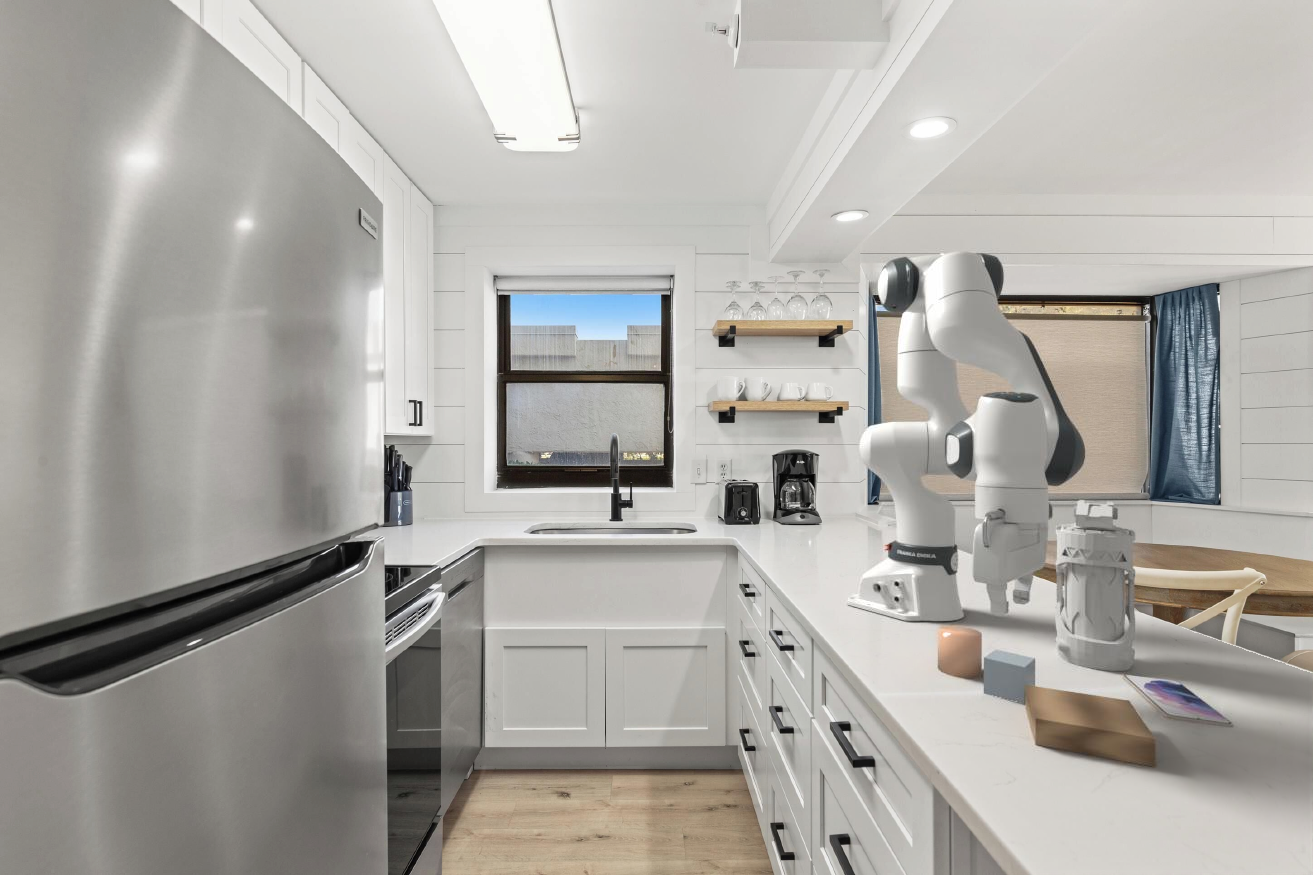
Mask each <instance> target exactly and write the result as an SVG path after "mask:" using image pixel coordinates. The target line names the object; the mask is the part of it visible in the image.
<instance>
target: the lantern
mask: <svg viewBox="0 0 1313 875" xmlns="http://www.w3.org/2000/svg"><path fill="white" fill-rule="evenodd" d="M1090 502H1093V500H1090V499H1089V500H1088V499H1087V500H1086V499H1079V500H1078V501H1077V502H1076V505H1074V507H1073V516H1074V518H1075V522H1074V523H1069V524H1067V523H1065V524H1058V525H1056V526H1055V535H1056V560H1055V569H1056V571H1055V572H1056V573H1055V574H1056V604H1055V629H1056V633H1057V636H1056V637H1055V646H1056V651H1057V654H1058V656H1059V658H1061V659H1062V660H1064V661H1066V662H1068V663H1071V664H1074V665H1077V666H1080V667H1084V668H1089V669H1093V670H1100V671H1109V672H1123V671H1129V670H1130V669H1132V666H1133V663H1134V661H1135V657H1136V656H1135V654H1136V650H1135V649H1134V648H1133V644H1134V641H1135V635H1136V614H1135V578H1136V570H1135V568H1134V541H1136V532H1135V530H1132V529H1128V528H1123V527H1117V526H1116V525H1115V524H1113V523H1114V522H1113V520H1118V519H1119V517H1118V515H1119V514H1118V513H1119V512H1118V511H1119V509H1118V507H1115V503H1114V501H1108V500H1107V501H1106V500H1105V501H1104V500H1095V502H1099V503H1090ZM1100 502H1102V503H1100ZM1126 572H1127V573H1126ZM1063 574H1064V577H1063ZM1063 579H1064V580H1063ZM1126 581H1127V582H1128V583H1127V584H1126ZM1063 582H1064V588H1063ZM1126 585H1127V587H1126ZM1126 589H1127V591H1126ZM1126 592H1127V594H1126ZM1126 595H1127V596H1126ZM1063 609H1064V622H1063V618H1062V617H1061V615H1062V611H1063ZM1126 617H1127V620H1128V623H1129V625H1128V628H1127V629H1126V632H1125V623H1126Z"/></svg>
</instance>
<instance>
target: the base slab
mask: <svg viewBox="0 0 1313 875" xmlns="http://www.w3.org/2000/svg"><path fill="white" fill-rule="evenodd" d="M1024 706H1025V712H1026V714H1027V715H1026V716H1027V720H1028V722H1029V725H1030V729H1031V733H1032V738H1033V739H1034V744H1035V745H1036V746H1041V747H1047V748H1053V749H1057V748H1058V749H1057V750H1063V751H1066V752H1067V751H1068V752H1073V753H1079V754H1085V755H1090V756H1095V757H1100V758H1106V759H1112V760H1117V761H1122V762H1128V763H1131V764H1132V763H1133V764H1137V765H1143V766H1149V767H1153V768H1155V767H1156V737H1155V736H1154V734H1153V733H1152V732H1151V731H1150V729H1149V727H1148V726H1147V724H1146V723H1145V722H1144V720H1143V718H1142V717H1141V715H1140V714H1139V712H1138V711H1137V710H1136V709H1135V707H1134V705H1133V704H1132V702H1131V701H1130V700H1129V699H1121V698H1113V697H1109V696H1101V695H1096V694H1095V695H1094V694H1088V693H1082V692H1075V691H1068V690H1062V689H1055V688H1049V687H1041V686H1036V685H1035V686H1030V685H1025V704H1024Z"/></svg>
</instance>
